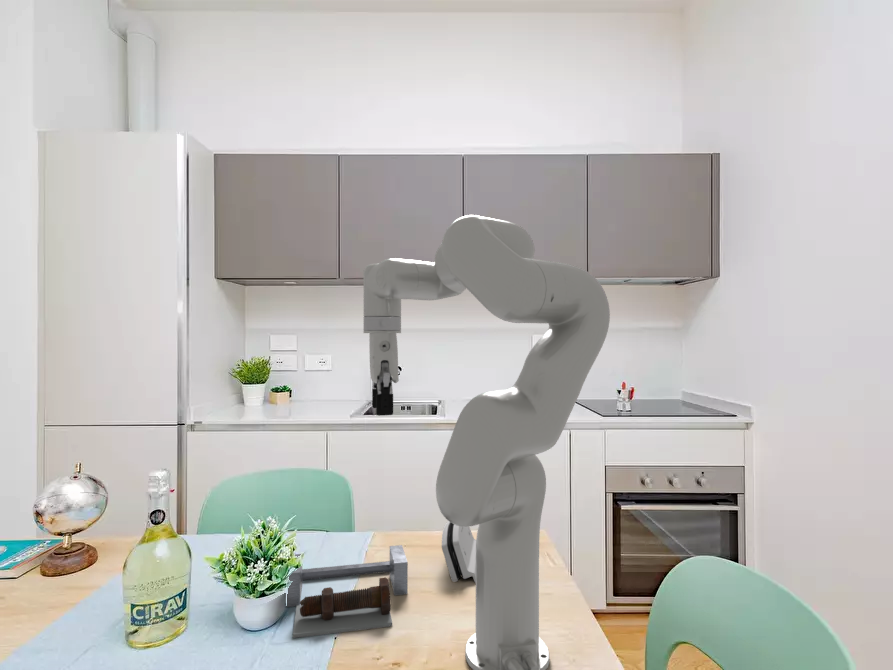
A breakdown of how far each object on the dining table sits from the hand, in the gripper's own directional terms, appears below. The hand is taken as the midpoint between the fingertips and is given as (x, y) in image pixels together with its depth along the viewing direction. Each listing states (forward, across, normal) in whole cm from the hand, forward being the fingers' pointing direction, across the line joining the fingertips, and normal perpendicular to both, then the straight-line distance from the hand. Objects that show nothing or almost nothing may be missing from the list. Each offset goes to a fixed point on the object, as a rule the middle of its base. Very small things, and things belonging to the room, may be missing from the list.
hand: (382, 411), depth 104 cm
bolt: (+33, -14, +8) cm, 36 cm away
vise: (+33, -2, +7) cm, 34 cm away
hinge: (+34, +2, -17) cm, 38 cm away
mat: (+33, -14, +8) cm, 37 cm away
